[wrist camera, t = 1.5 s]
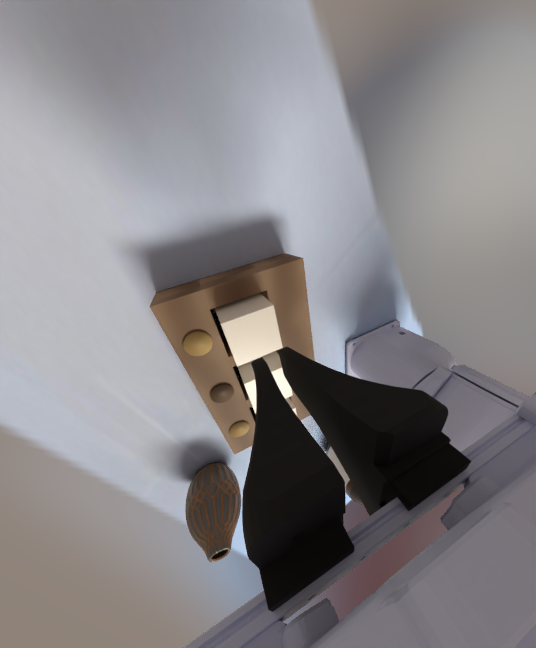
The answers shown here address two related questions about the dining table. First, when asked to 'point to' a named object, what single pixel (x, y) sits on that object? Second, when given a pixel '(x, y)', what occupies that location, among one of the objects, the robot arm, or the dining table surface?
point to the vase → (213, 509)
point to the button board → (213, 351)
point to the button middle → (276, 371)
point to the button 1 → (250, 328)
